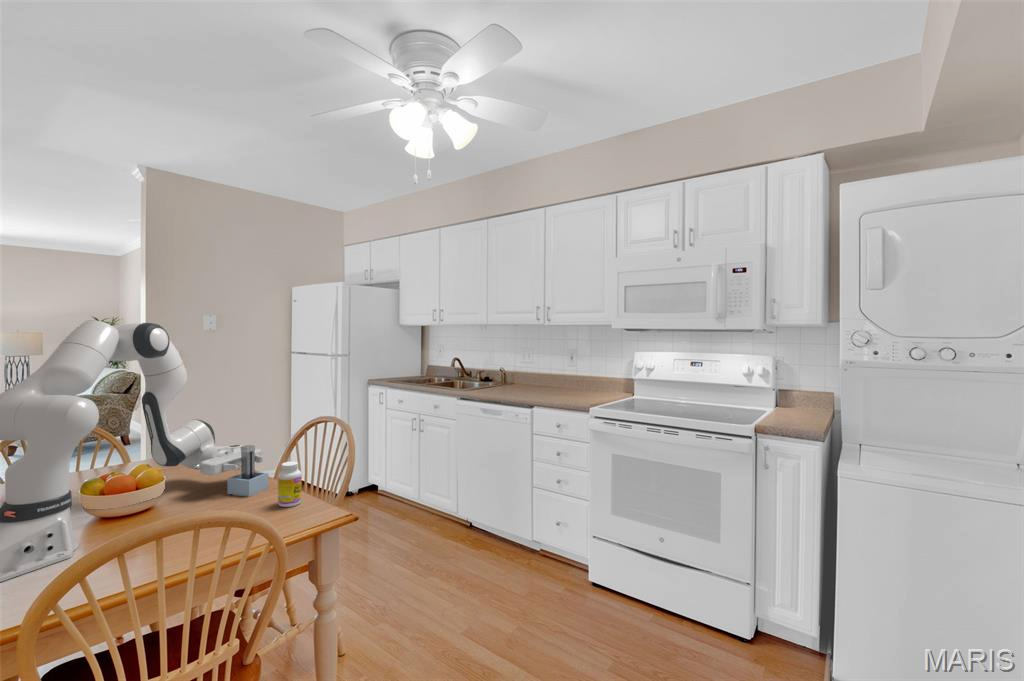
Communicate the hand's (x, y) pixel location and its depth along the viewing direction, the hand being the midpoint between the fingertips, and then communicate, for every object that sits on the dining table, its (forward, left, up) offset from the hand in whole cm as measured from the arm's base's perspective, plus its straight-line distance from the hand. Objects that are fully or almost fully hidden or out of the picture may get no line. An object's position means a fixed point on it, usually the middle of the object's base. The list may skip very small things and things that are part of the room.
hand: (250, 463), depth 162 cm
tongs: (0, +1, -9) cm, 9 cm away
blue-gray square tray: (0, +1, -9) cm, 10 cm away
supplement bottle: (-6, -20, -10) cm, 23 cm away
